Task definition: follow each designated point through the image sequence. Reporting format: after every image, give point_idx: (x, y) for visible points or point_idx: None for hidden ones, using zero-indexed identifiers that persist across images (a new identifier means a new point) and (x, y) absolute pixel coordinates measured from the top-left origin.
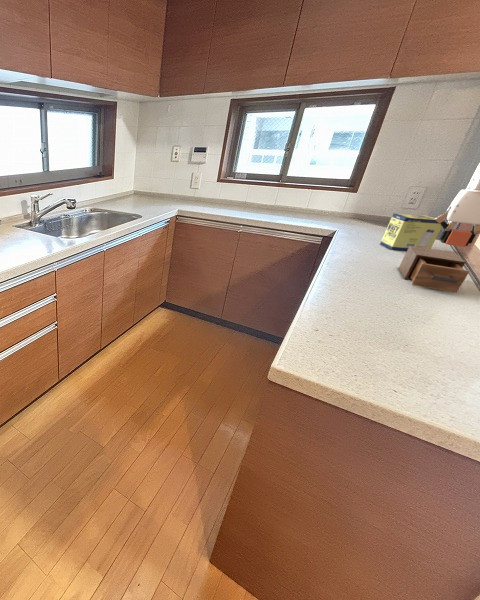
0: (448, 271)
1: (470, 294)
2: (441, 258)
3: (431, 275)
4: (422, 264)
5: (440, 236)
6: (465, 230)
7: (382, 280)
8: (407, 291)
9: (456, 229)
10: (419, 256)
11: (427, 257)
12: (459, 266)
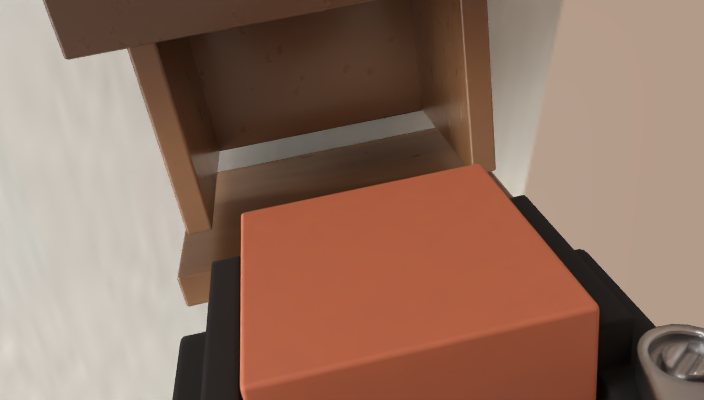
0: None
1: (543, 23)
2: (321, 9)
3: None
4: (189, 303)
5: (179, 357)
6: (548, 341)
7: (18, 198)
8: (203, 306)
9: (381, 387)
10: (105, 50)
11: (186, 35)
12: (477, 82)
